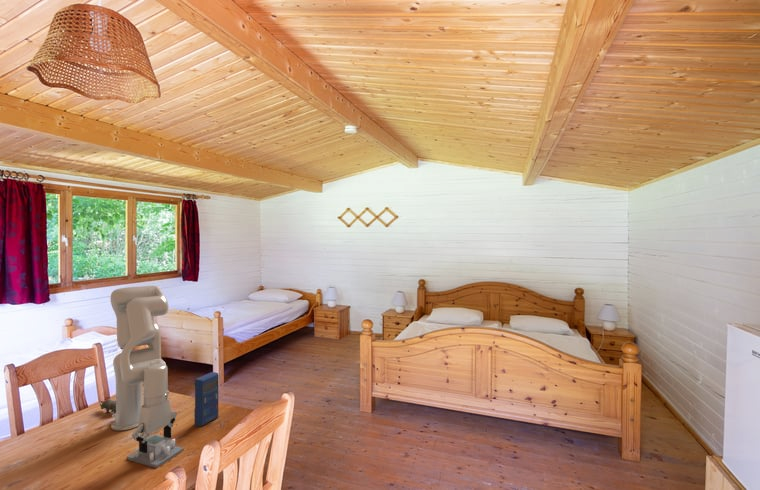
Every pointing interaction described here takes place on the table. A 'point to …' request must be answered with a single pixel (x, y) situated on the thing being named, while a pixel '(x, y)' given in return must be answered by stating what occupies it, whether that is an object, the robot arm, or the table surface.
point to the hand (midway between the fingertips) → (155, 444)
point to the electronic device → (206, 398)
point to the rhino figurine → (109, 405)
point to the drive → (157, 445)
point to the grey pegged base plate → (150, 460)
